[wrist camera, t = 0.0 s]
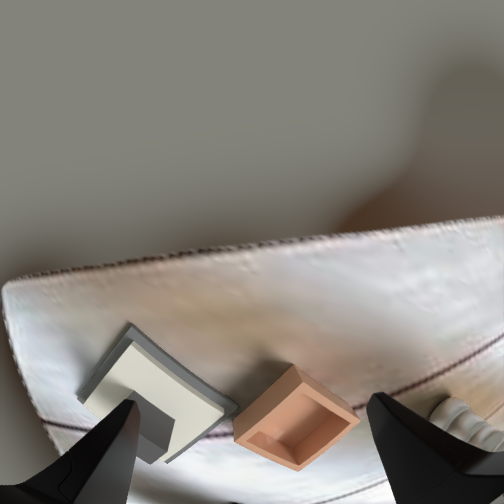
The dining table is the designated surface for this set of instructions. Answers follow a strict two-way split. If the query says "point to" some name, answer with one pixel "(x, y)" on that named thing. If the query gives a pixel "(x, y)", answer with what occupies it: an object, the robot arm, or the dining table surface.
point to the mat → (169, 363)
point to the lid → (155, 403)
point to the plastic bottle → (467, 425)
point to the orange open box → (294, 420)
